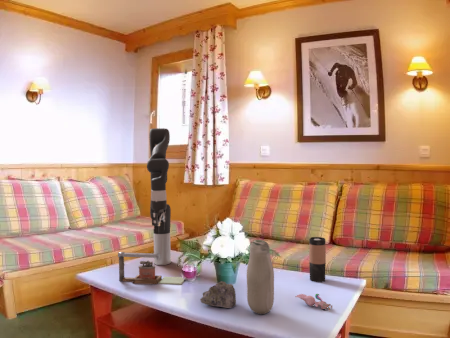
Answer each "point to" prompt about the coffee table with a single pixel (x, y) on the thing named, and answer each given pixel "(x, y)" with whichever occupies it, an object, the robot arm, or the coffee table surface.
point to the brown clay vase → (260, 278)
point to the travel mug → (317, 259)
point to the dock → (136, 279)
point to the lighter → (146, 270)
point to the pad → (172, 280)
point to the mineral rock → (220, 295)
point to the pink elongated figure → (311, 301)
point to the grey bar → (139, 255)
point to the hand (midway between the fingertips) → (159, 231)
